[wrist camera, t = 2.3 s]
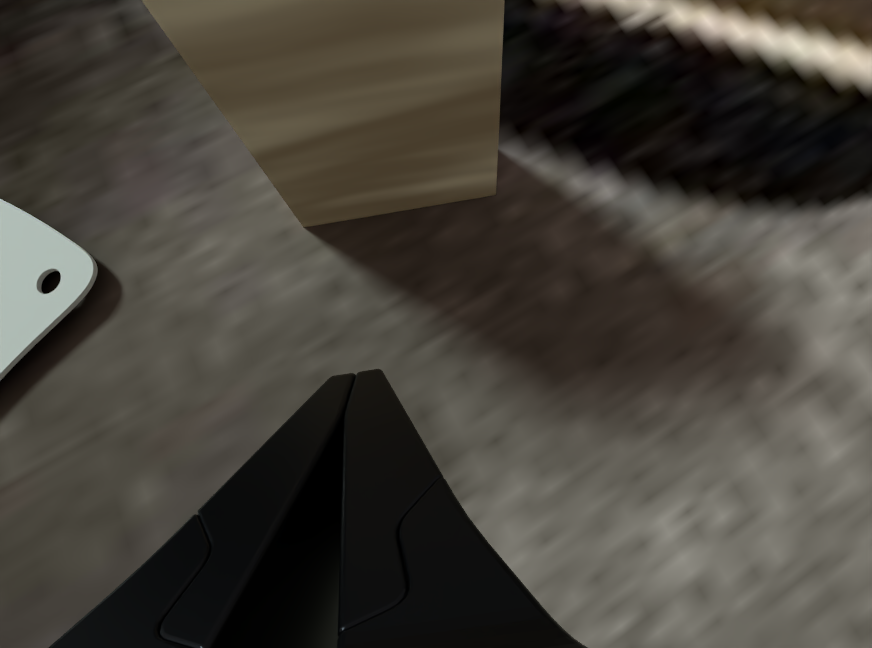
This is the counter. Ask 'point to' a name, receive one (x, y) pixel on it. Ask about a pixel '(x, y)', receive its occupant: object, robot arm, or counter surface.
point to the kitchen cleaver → (35, 281)
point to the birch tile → (353, 96)
